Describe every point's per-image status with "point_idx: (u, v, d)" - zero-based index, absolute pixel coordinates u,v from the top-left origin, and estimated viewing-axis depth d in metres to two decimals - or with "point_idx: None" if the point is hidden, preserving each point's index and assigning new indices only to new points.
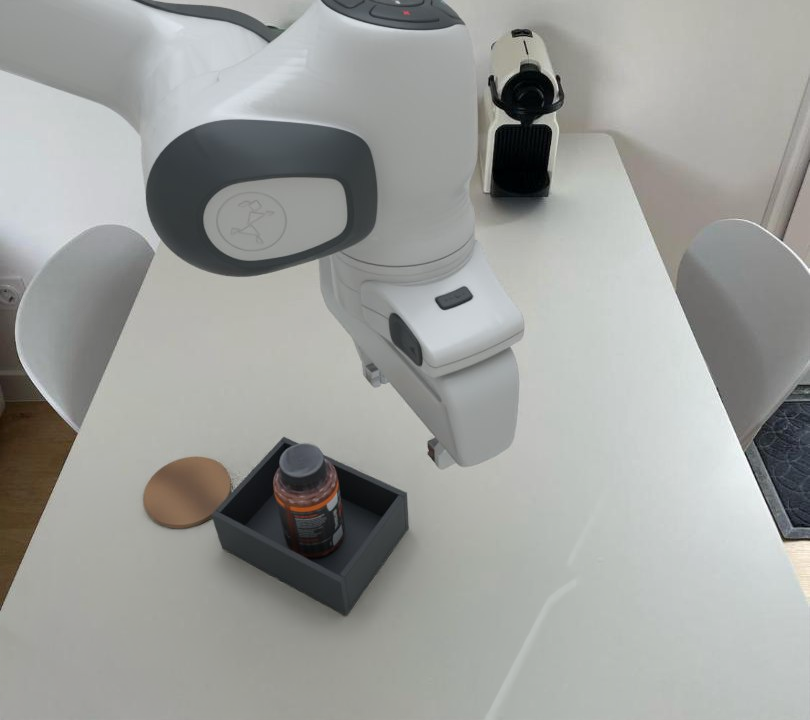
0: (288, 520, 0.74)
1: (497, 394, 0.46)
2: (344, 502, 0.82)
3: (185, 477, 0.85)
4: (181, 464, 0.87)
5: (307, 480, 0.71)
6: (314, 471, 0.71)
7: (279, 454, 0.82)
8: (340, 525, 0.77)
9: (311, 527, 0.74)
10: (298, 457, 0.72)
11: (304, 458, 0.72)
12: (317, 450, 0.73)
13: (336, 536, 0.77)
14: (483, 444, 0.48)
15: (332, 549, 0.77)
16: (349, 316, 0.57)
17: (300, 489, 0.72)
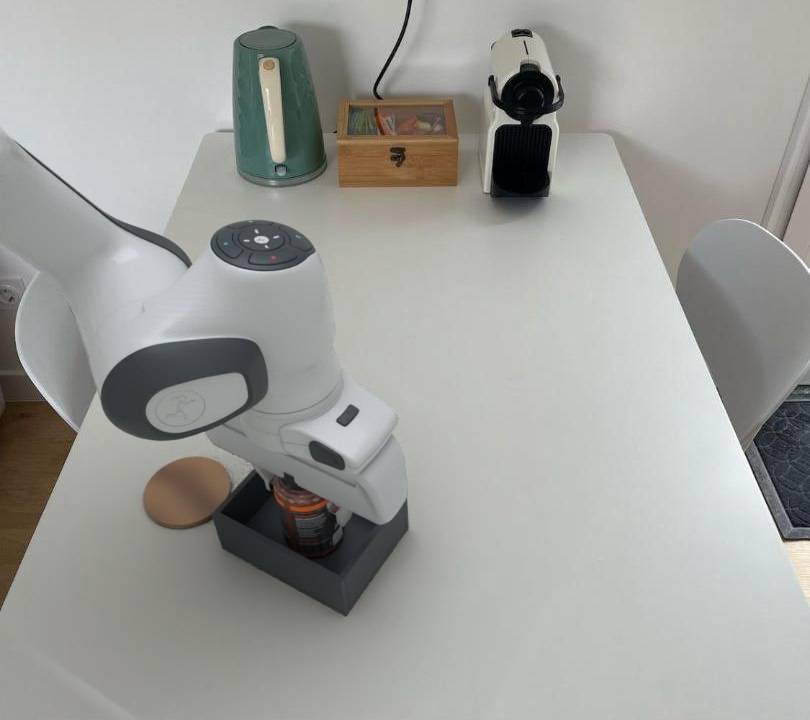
0: (288, 520, 0.74)
1: (394, 467, 0.66)
2: None
3: (185, 477, 0.85)
4: (181, 464, 0.87)
5: None
6: None
7: None
8: None
9: (311, 527, 0.74)
10: None
11: None
12: None
13: (336, 536, 0.77)
14: (393, 504, 0.67)
15: (332, 549, 0.77)
16: (245, 447, 0.72)
17: (300, 488, 0.72)
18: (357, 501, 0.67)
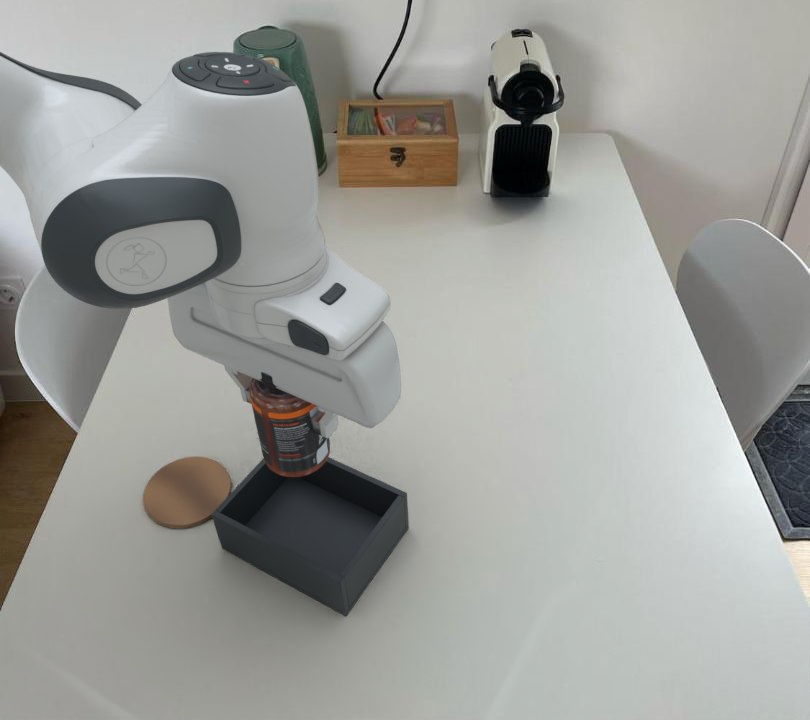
0: (266, 430, 0.66)
1: (386, 358, 0.58)
2: (344, 502, 0.82)
3: (185, 477, 0.85)
4: (181, 464, 0.87)
5: None
6: None
7: None
8: (325, 441, 0.69)
9: (292, 438, 0.66)
10: None
11: None
12: None
13: (320, 453, 0.69)
14: (384, 402, 0.59)
15: (316, 468, 0.69)
16: (217, 345, 0.64)
17: (279, 392, 0.63)
18: (343, 399, 0.59)
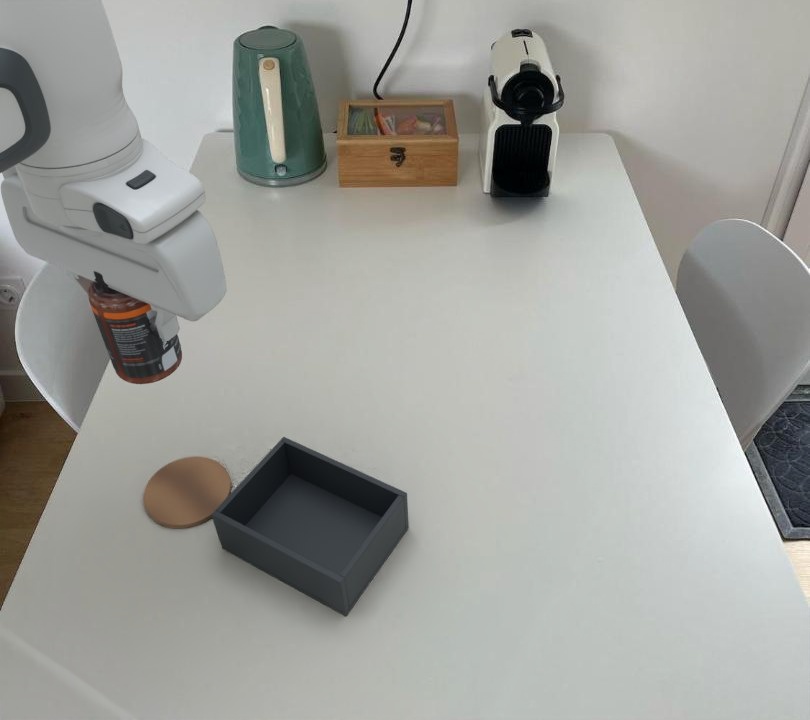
0: (106, 333, 0.66)
1: (201, 247, 0.58)
2: (344, 502, 0.82)
3: (185, 477, 0.85)
4: (181, 464, 0.87)
5: None
6: None
7: (279, 454, 0.82)
8: (171, 347, 0.69)
9: (131, 341, 0.66)
10: None
11: None
12: None
13: (167, 359, 0.69)
14: (204, 294, 0.59)
15: (163, 375, 0.69)
16: (52, 246, 0.64)
17: (113, 291, 0.64)
18: (164, 292, 0.60)
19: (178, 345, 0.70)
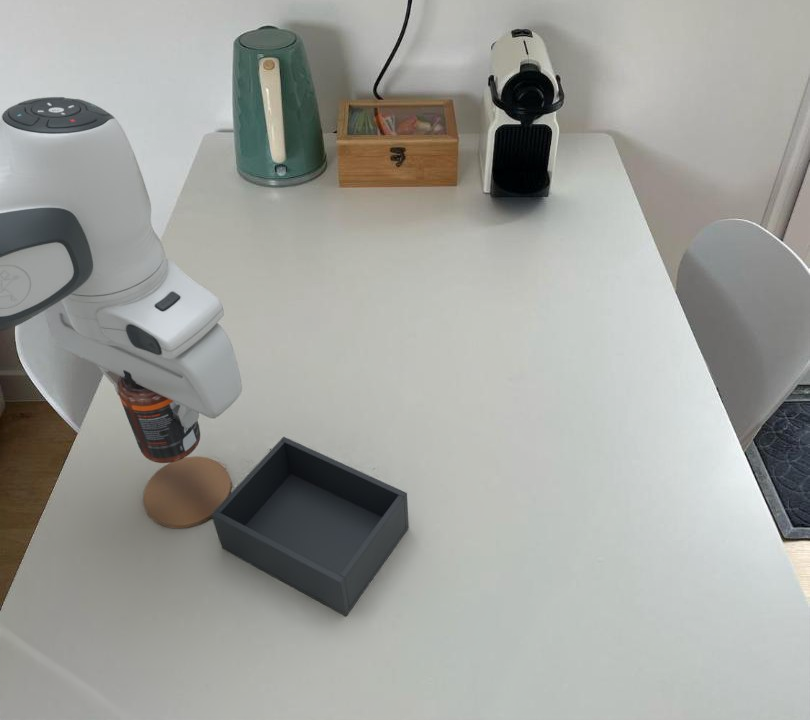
0: (133, 421, 0.74)
1: (220, 357, 0.66)
2: (344, 502, 0.82)
3: (185, 477, 0.85)
4: (181, 464, 0.87)
5: None
6: None
7: (279, 454, 0.82)
8: (191, 430, 0.77)
9: (156, 428, 0.74)
10: None
11: None
12: None
13: (187, 441, 0.77)
14: (222, 396, 0.67)
15: (184, 455, 0.77)
16: (86, 346, 0.72)
17: (140, 387, 0.72)
18: (187, 393, 0.67)
19: (197, 427, 0.78)
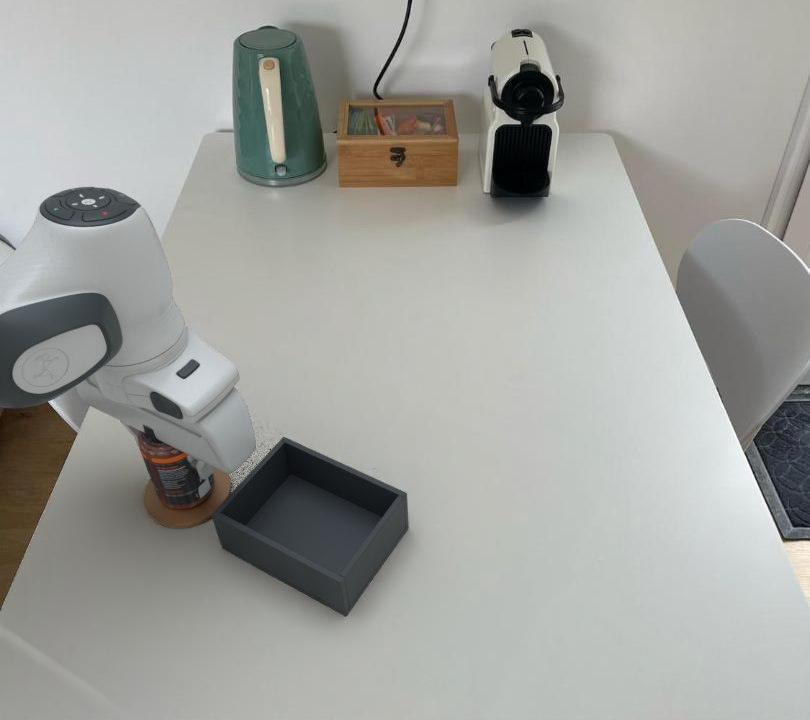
0: (152, 472, 0.79)
1: (236, 418, 0.71)
2: (344, 502, 0.82)
3: None
4: None
5: None
6: None
7: (279, 454, 0.82)
8: None
9: (174, 478, 0.79)
10: None
11: None
12: None
13: (202, 489, 0.82)
14: (238, 454, 0.72)
15: (199, 501, 0.82)
16: (109, 403, 0.77)
17: (159, 441, 0.76)
18: (205, 451, 0.72)
19: (211, 475, 0.83)
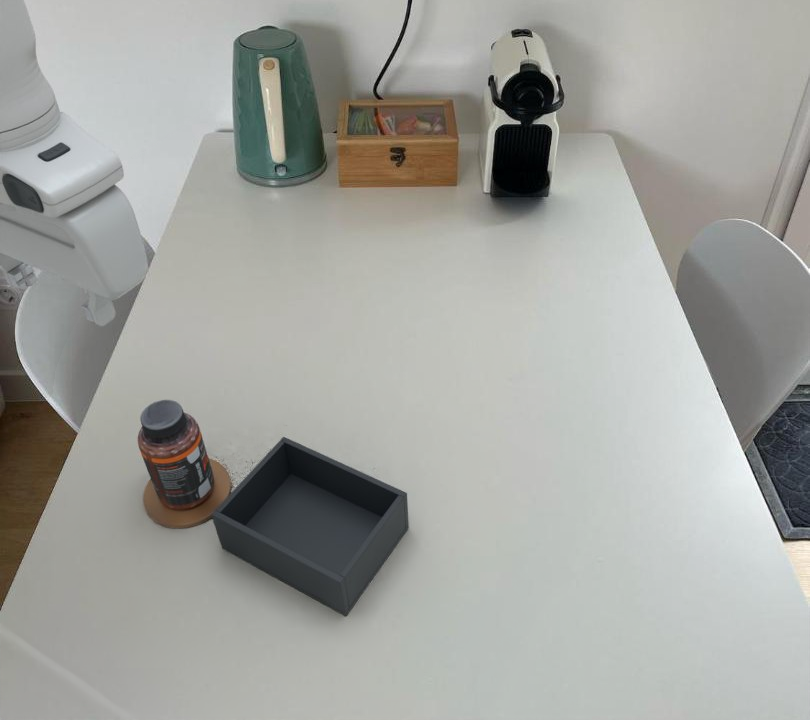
0: (152, 472, 0.79)
1: (118, 223, 0.57)
2: (344, 502, 0.82)
3: None
4: None
5: (165, 432, 0.76)
6: (172, 424, 0.76)
7: (279, 454, 0.82)
8: (206, 478, 0.82)
9: (174, 478, 0.79)
10: (158, 412, 0.77)
11: (164, 412, 0.77)
12: (177, 406, 0.77)
13: (202, 489, 0.82)
14: (122, 271, 0.58)
15: (199, 501, 0.82)
16: None
17: (159, 441, 0.76)
18: (81, 269, 0.58)
19: (211, 475, 0.83)
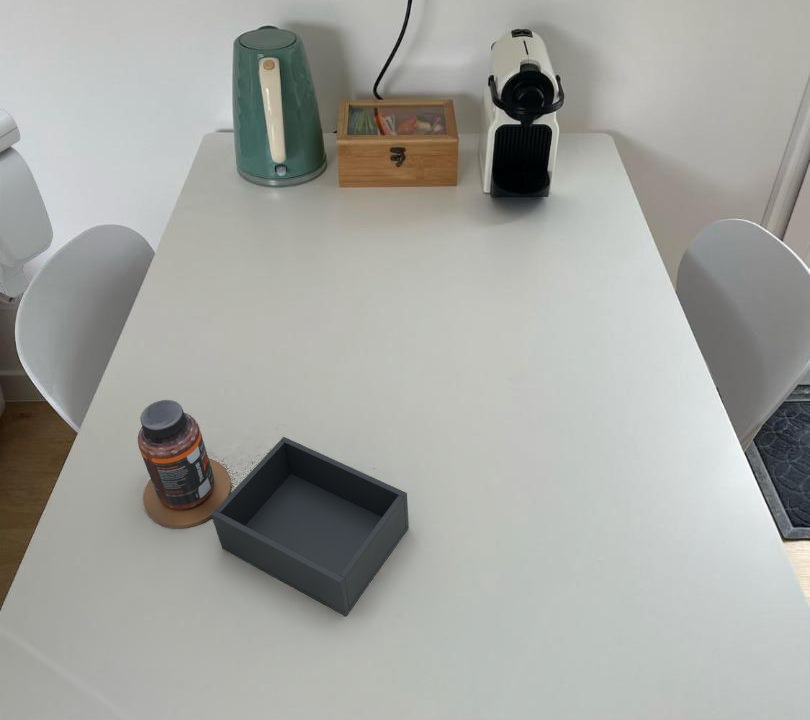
0: (152, 472, 0.79)
1: (15, 187, 0.55)
2: (344, 502, 0.82)
3: None
4: None
5: (165, 432, 0.76)
6: (172, 424, 0.76)
7: (279, 454, 0.82)
8: (206, 478, 0.82)
9: (174, 478, 0.79)
10: (158, 412, 0.77)
11: (164, 412, 0.77)
12: (177, 406, 0.77)
13: (202, 489, 0.82)
14: (22, 237, 0.56)
15: (199, 501, 0.82)
16: None
17: (159, 441, 0.76)
18: None
19: (211, 475, 0.83)
